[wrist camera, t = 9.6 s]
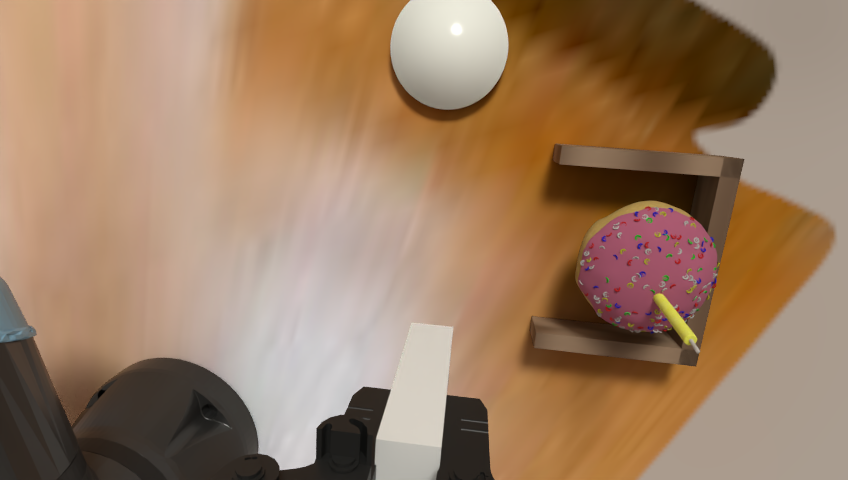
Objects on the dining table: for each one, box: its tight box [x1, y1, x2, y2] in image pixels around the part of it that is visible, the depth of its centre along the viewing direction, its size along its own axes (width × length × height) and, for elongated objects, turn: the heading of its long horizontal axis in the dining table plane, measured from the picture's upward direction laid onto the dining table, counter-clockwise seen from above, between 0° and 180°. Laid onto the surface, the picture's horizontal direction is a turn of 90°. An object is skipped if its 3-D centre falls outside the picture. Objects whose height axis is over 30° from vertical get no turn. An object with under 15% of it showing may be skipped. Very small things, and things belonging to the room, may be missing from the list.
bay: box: [530, 144, 744, 366], centre depth 34 cm, size 11×14×3 cm
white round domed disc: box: [390, 0, 508, 110], centre depth 33 cm, size 8×8×1 cm
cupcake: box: [575, 201, 720, 354], centre depth 29 cm, size 9×8×12 cm
